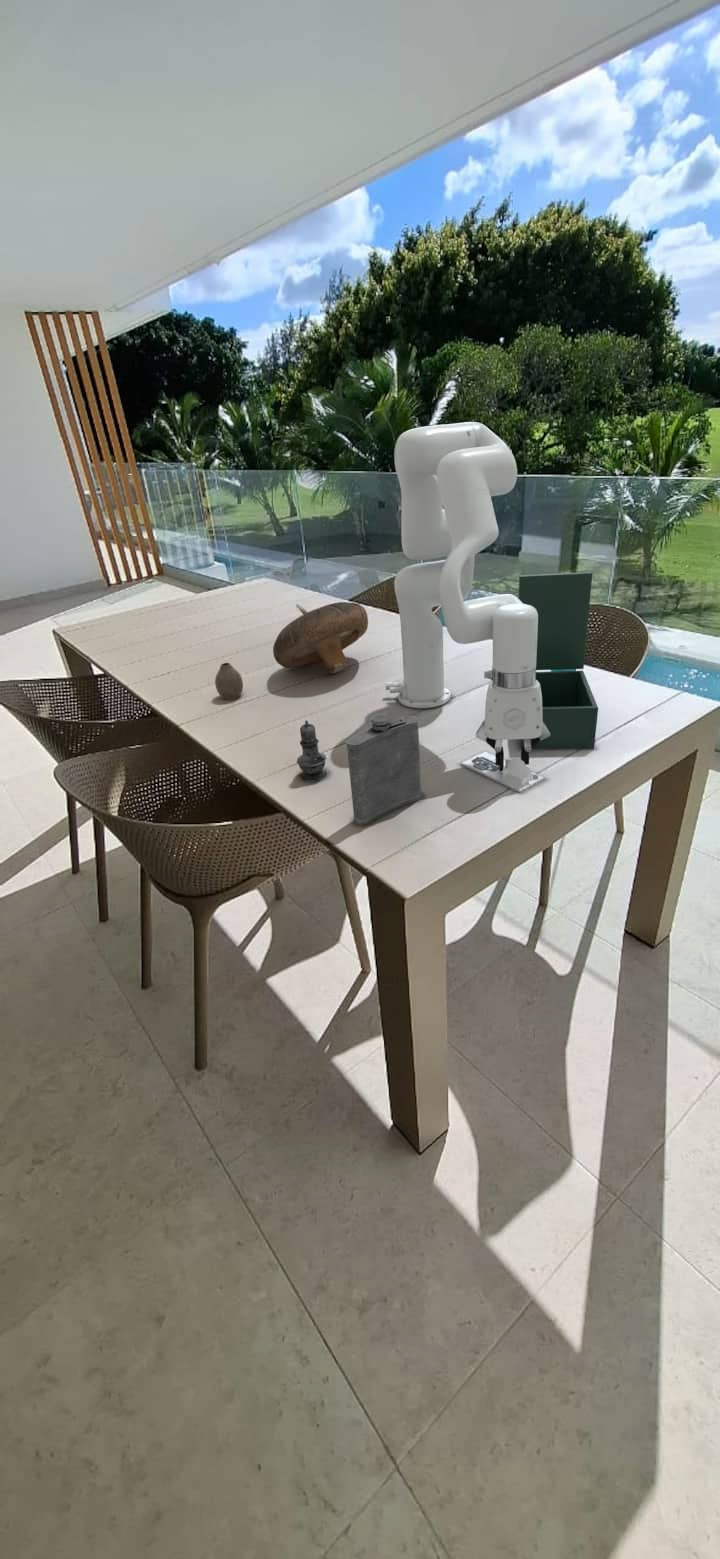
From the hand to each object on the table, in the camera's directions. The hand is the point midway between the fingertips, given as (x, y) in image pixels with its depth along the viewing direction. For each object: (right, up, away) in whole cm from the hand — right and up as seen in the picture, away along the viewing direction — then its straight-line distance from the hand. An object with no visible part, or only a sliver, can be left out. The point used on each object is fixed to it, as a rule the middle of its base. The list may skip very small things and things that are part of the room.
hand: (512, 766), depth 127 cm
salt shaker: (-38, -2, +6) cm, 39 cm away
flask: (-24, -8, -7) cm, 26 cm away
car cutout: (-2, -1, +1) cm, 2 cm away
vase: (-62, +19, +46) cm, 80 cm away
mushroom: (-38, +28, +57) cm, 74 cm away
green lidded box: (+12, +9, +15) cm, 21 cm away
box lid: (+12, +30, +14) cm, 35 cm away
